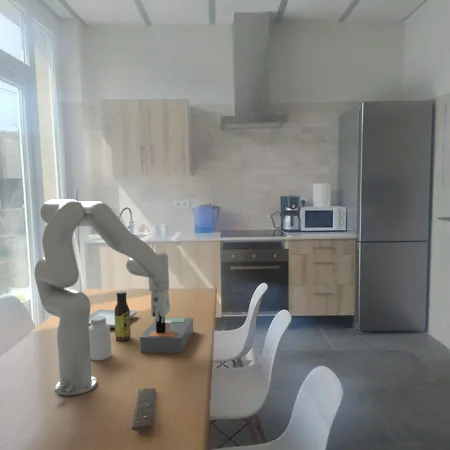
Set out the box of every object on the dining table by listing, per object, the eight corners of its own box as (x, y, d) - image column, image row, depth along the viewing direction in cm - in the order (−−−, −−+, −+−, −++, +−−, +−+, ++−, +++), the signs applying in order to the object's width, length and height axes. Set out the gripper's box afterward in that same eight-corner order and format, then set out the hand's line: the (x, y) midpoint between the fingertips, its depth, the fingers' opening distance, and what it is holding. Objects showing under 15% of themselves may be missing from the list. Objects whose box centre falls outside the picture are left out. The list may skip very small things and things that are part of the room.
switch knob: (170, 332, 168) (170, 322, 167) (155, 332, 168) (155, 322, 168) (172, 330, 171) (172, 320, 170) (157, 330, 171) (157, 320, 171)
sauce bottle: (126, 342, 177) (124, 294, 175) (112, 341, 178) (110, 294, 176) (133, 336, 183) (131, 290, 181) (119, 335, 184) (117, 290, 182)
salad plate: (75, 329, 195) (74, 321, 195) (99, 315, 216) (99, 308, 215) (117, 332, 190) (117, 324, 190) (138, 317, 211) (138, 310, 210)
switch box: (181, 353, 163) (180, 337, 163) (140, 352, 165) (139, 336, 165) (193, 331, 187) (192, 317, 186) (157, 331, 189) (157, 317, 188)
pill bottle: (89, 362, 157) (86, 322, 155) (89, 354, 165) (87, 316, 163) (111, 359, 159) (109, 320, 158) (111, 351, 167) (109, 313, 165)
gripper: (163, 290, 155) (165, 339, 157) (173, 280, 170) (175, 326, 171) (143, 290, 156) (145, 339, 157) (154, 280, 170) (156, 325, 172)
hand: (161, 332), depth 164 cm, fingers closed
